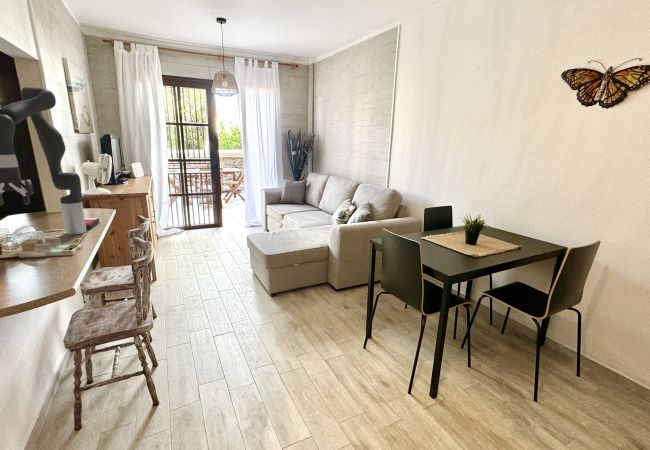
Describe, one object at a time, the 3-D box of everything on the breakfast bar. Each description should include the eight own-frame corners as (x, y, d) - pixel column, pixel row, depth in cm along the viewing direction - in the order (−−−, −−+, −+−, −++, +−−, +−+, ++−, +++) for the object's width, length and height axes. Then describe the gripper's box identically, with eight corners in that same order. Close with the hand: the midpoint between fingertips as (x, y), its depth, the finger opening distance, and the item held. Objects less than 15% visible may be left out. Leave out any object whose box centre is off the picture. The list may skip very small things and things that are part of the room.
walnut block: (29, 247, 148) (27, 239, 147) (44, 247, 149) (42, 238, 148) (22, 251, 143) (20, 243, 142) (37, 250, 144) (35, 242, 143)
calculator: (67, 225, 181) (77, 217, 194) (68, 232, 182) (78, 224, 196) (90, 224, 184) (98, 216, 198) (91, 231, 186) (99, 223, 199)
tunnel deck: (31, 250, 150) (29, 239, 149) (83, 247, 156) (81, 237, 155) (19, 257, 141) (16, 245, 139) (74, 254, 147) (72, 243, 145)
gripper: (32, 165, 136) (39, 202, 140) (-11, 164, 132) (-2, 203, 136) (22, 166, 129) (30, 206, 133) (-24, 166, 125) (-14, 207, 129)
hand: (14, 204), depth 135 cm, fingers open, 8 cm apart
